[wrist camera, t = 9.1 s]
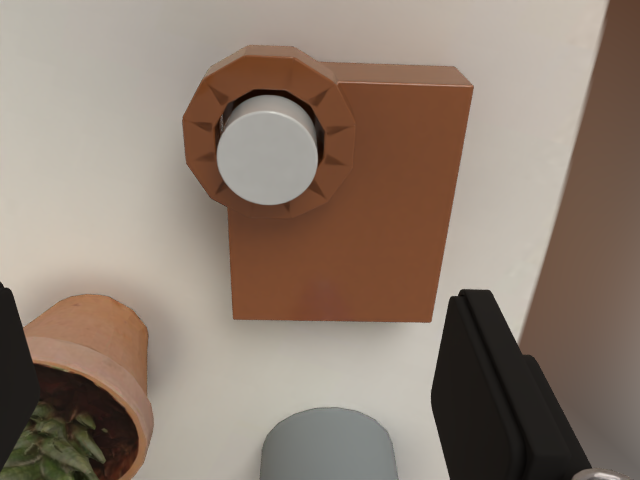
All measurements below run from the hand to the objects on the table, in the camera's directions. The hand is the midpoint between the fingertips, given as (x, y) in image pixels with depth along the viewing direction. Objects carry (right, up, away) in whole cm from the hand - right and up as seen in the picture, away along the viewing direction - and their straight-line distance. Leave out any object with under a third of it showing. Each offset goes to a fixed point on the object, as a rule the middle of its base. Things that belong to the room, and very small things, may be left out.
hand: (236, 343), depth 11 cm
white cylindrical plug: (0, +6, +10) cm, 12 cm away
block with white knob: (+3, +5, +16) cm, 17 cm away
